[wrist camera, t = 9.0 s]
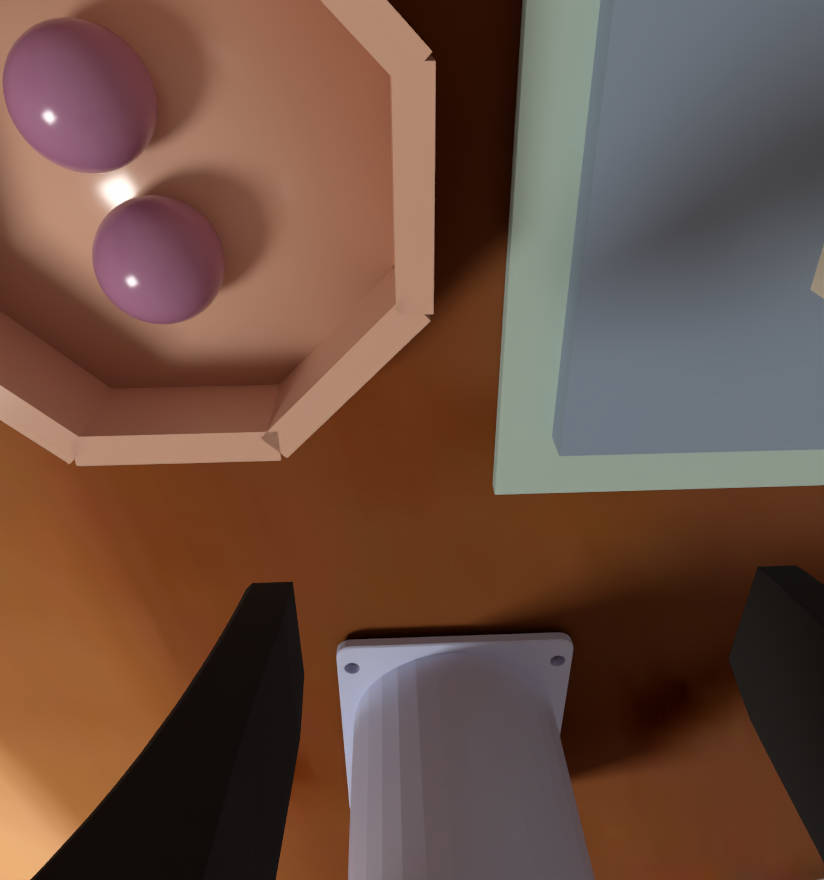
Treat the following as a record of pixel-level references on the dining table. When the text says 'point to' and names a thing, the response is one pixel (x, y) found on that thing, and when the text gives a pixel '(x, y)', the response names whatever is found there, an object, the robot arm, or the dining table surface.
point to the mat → (547, 280)
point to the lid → (698, 233)
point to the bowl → (207, 220)
